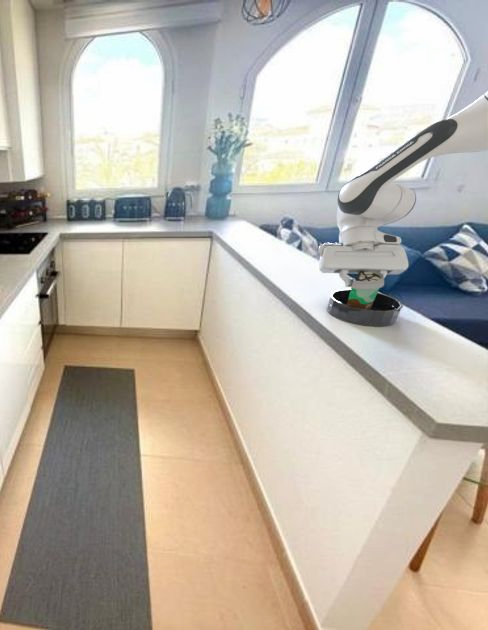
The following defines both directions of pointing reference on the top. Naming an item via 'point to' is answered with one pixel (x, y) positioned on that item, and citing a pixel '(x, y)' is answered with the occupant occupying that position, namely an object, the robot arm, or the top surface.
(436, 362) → the top surface
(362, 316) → the pan
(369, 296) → the food container
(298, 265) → the top surface
